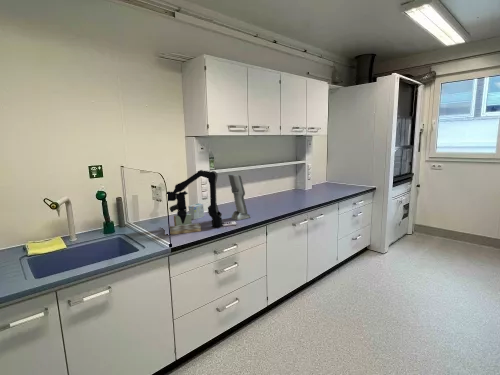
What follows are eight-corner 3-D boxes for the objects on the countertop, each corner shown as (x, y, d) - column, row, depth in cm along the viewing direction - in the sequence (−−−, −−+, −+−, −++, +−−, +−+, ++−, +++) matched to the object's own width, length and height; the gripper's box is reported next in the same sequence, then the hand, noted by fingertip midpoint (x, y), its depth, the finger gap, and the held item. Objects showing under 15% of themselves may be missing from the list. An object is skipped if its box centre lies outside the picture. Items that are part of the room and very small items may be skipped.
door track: (200, 227, 192) (200, 222, 191) (201, 231, 183) (200, 226, 182) (165, 231, 186) (165, 226, 186) (164, 235, 178) (164, 230, 177)
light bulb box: (199, 215, 225) (198, 203, 223) (204, 216, 221) (203, 203, 219) (188, 218, 217) (187, 205, 215) (194, 219, 212) (193, 206, 211)
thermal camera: (229, 217, 214) (226, 174, 208) (242, 214, 221) (240, 172, 215) (237, 220, 204) (234, 175, 199) (251, 217, 211) (249, 173, 206)
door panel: (191, 225, 197) (190, 213, 195) (191, 226, 195) (190, 214, 193) (174, 227, 194) (173, 215, 193) (174, 228, 192) (173, 216, 191)
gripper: (170, 199, 198) (172, 219, 201) (168, 204, 180) (170, 226, 183) (185, 197, 201) (187, 218, 203) (185, 202, 183) (187, 224, 185)
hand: (183, 221), depth 194 cm, fingers open, 9 cm apart
